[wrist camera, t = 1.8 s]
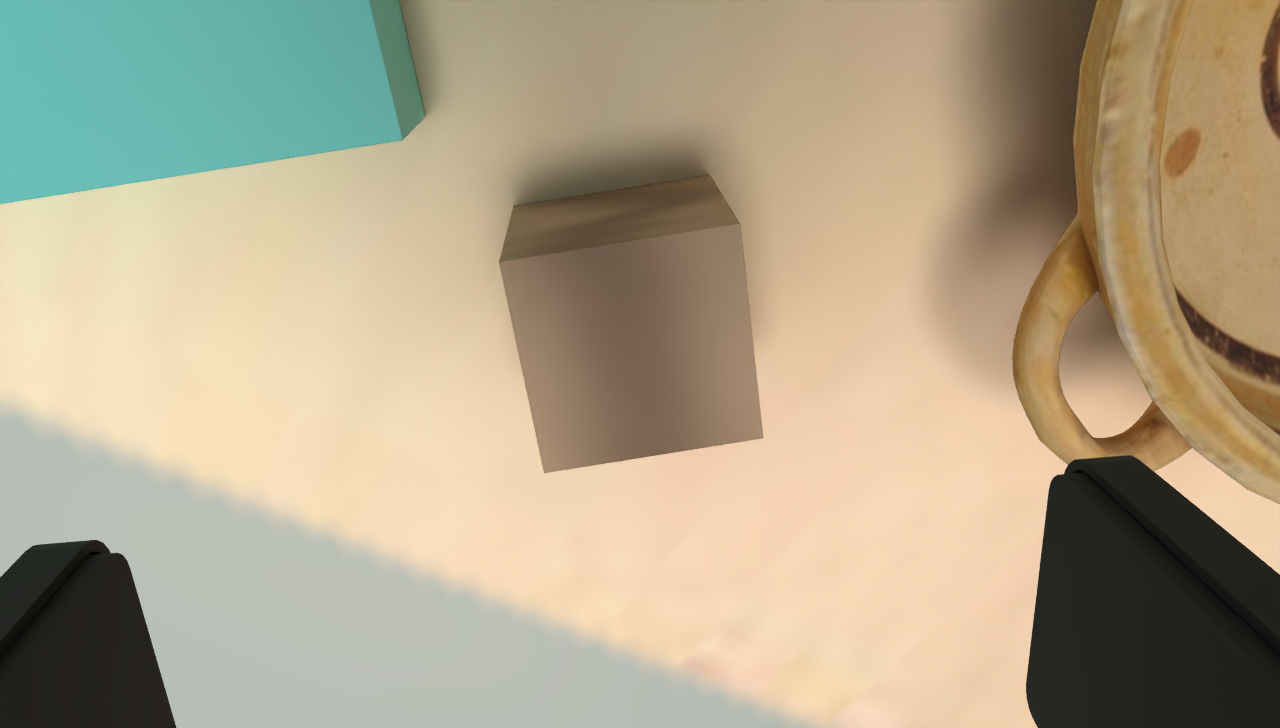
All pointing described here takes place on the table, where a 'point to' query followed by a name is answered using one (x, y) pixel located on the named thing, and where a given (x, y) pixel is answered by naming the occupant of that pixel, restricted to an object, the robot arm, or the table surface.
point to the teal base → (193, 87)
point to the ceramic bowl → (1173, 236)
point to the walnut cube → (632, 322)
